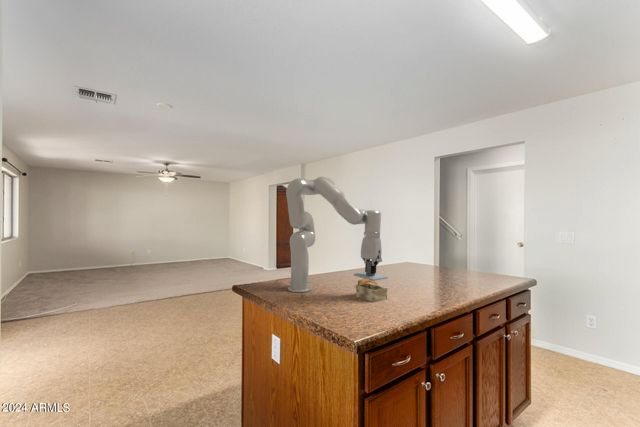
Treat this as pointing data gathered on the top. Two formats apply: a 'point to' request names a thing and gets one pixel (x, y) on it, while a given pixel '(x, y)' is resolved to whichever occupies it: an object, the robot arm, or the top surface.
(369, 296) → the box
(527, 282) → the top surface
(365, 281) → the croissant
